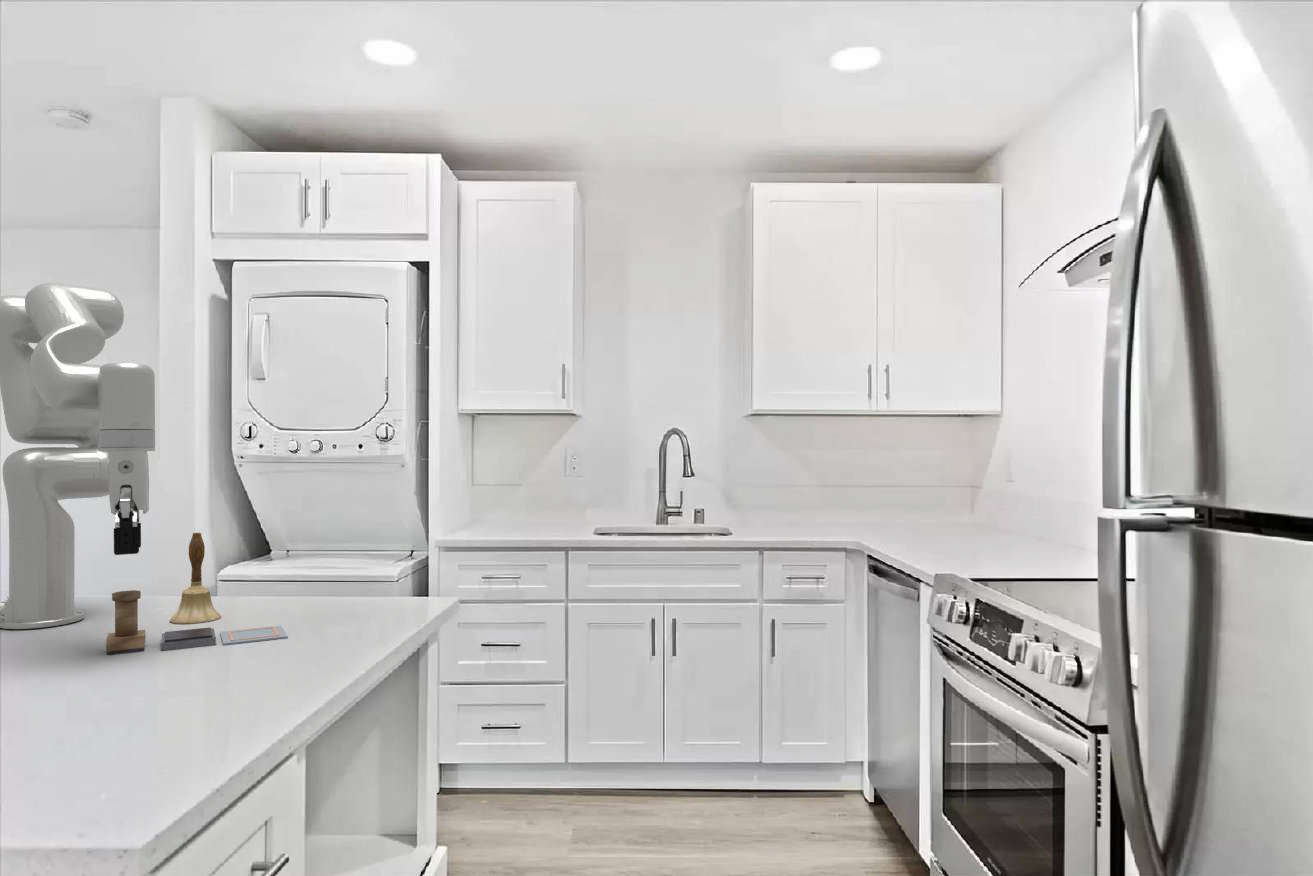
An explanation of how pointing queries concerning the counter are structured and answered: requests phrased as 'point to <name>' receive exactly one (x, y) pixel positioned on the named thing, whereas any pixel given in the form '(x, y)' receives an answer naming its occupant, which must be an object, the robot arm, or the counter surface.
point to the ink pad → (188, 638)
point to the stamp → (126, 625)
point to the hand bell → (196, 591)
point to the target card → (252, 635)
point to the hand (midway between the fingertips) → (128, 551)
